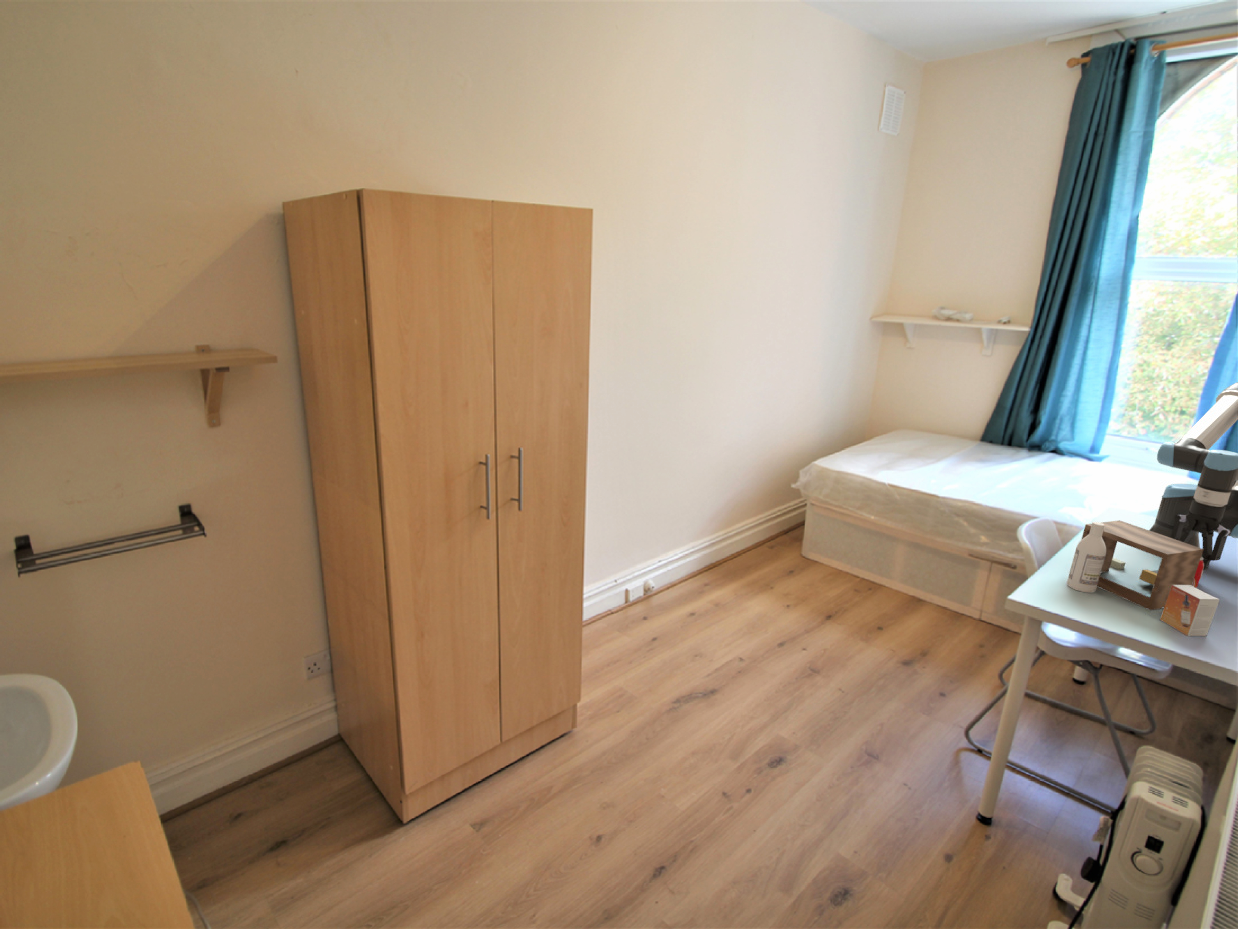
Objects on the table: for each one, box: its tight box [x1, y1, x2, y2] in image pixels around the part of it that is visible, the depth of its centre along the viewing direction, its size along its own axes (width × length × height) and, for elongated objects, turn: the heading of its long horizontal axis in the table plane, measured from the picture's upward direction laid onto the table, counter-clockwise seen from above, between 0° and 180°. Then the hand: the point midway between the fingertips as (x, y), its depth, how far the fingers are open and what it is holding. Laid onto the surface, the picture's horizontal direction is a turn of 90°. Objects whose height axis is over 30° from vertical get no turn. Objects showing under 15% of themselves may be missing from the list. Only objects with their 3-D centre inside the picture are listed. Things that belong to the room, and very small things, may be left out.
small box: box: [1159, 585, 1220, 637], centre depth 165 cm, size 8×6×10 cm
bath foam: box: [1066, 521, 1106, 594], centre depth 184 cm, size 7×7×20 cm
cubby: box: [1080, 520, 1203, 611], centre depth 185 cm, size 15×22×16 cm
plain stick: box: [1110, 557, 1127, 570], centre depth 207 cm, size 13×2×2 cm, turn 23°
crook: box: [1138, 552, 1203, 586], centre depth 190 cm, size 21×10×9 cm, turn 109°
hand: (1185, 574), depth 196 cm, fingers closed on crook, 5 cm apart
